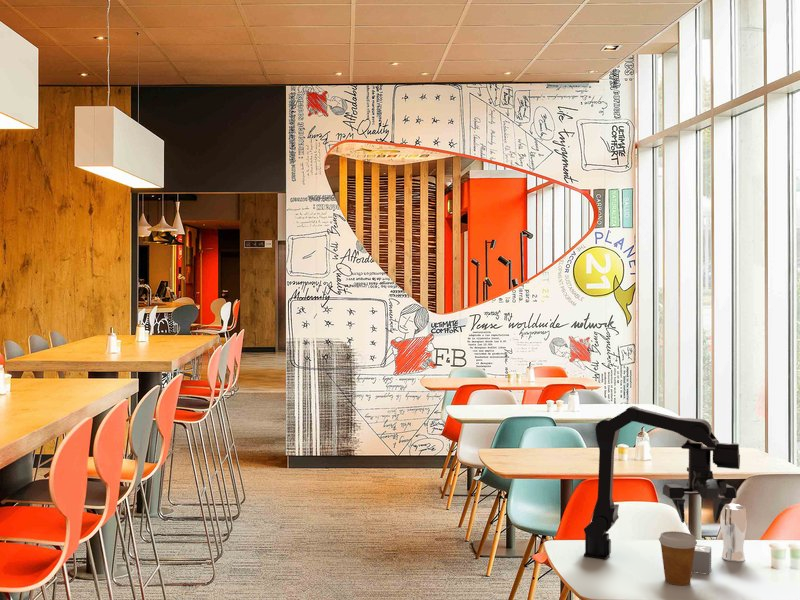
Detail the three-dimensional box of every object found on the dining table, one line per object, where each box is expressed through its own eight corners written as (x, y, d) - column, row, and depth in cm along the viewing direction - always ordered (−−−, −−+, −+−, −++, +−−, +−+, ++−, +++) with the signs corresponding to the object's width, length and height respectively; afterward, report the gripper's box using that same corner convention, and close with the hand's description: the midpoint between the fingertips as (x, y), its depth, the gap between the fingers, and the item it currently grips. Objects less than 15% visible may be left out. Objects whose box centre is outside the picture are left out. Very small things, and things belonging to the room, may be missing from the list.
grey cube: (685, 571, 225) (686, 549, 225) (688, 565, 231) (688, 543, 231) (709, 574, 223) (709, 552, 223) (711, 568, 228) (711, 546, 228)
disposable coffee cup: (696, 578, 220) (696, 532, 220) (697, 589, 211) (697, 542, 211) (659, 574, 223) (659, 529, 223) (658, 585, 214) (658, 538, 214)
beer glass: (748, 563, 233) (748, 510, 233) (722, 561, 234) (722, 508, 234) (743, 556, 240) (743, 504, 240) (718, 554, 241) (718, 503, 241)
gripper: (677, 471, 219) (677, 530, 219) (746, 471, 220) (745, 530, 220) (662, 463, 230) (661, 519, 230) (727, 463, 231) (727, 519, 231)
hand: (699, 522), depth 227 cm, fingers open, 9 cm apart
